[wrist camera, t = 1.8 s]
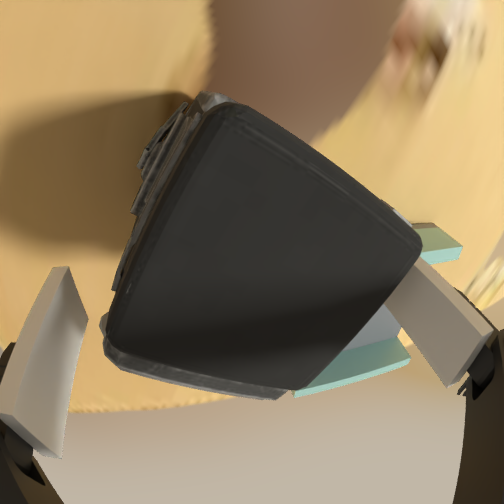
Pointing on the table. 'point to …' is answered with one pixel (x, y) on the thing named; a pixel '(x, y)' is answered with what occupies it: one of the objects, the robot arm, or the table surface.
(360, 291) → the camera
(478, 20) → the table surface
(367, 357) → the dock
